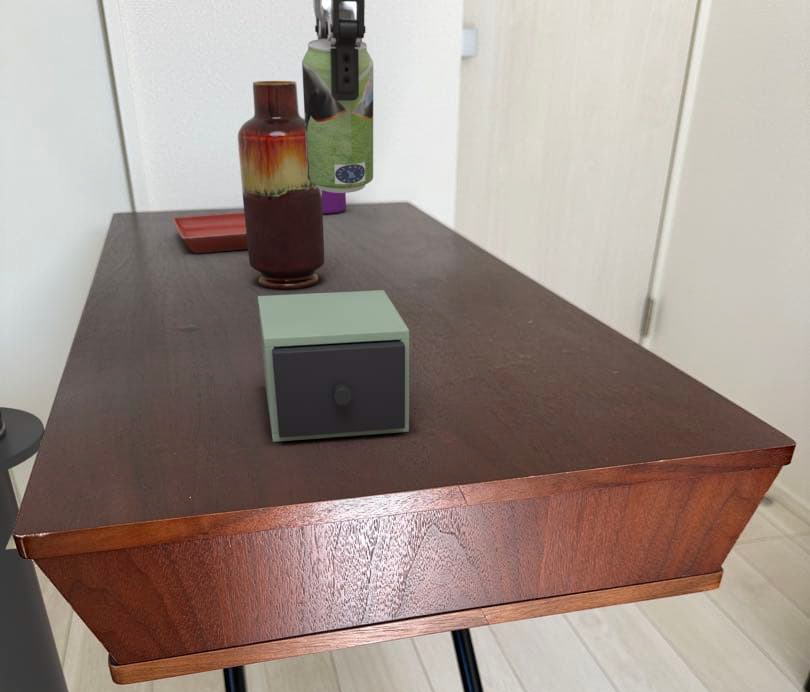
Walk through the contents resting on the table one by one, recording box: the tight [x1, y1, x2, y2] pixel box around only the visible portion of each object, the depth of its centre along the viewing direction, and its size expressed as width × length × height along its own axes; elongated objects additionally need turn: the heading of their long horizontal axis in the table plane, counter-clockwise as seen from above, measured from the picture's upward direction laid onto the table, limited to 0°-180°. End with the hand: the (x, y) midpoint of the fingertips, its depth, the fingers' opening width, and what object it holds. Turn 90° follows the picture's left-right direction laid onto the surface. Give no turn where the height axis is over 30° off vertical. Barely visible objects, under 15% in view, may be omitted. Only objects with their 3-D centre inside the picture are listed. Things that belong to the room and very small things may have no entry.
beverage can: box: [301, 38, 374, 194], centre depth 74 cm, size 6×7×12 cm
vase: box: [237, 80, 325, 290], centre depth 118 cm, size 11×11×26 cm
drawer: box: [272, 340, 405, 437], centre depth 78 cm, size 14×11×8 cm
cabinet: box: [257, 289, 410, 443], centre depth 80 cm, size 14×13×10 cm
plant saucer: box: [172, 212, 248, 254], centre depth 147 cm, size 18×18×3 cm
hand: (340, 96), depth 73 cm, fingers closed on beverage can, 6 cm apart
